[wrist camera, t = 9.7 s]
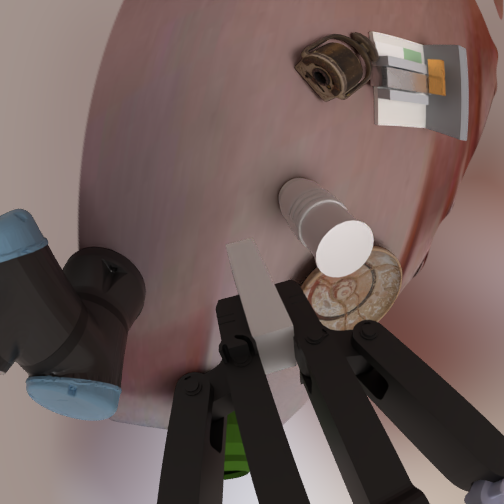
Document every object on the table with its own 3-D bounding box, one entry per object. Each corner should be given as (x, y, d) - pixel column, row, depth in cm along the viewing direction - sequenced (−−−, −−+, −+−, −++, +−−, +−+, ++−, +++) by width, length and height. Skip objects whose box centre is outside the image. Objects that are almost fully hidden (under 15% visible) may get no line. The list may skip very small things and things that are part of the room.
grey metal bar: (370, 85, 30) (397, 87, 25) (368, 48, 27) (394, 45, 22) (419, 92, 31) (446, 97, 26) (417, 59, 28) (444, 60, 23)
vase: (165, 398, 61) (170, 483, 41) (168, 355, 52) (172, 466, 32) (237, 400, 67) (254, 479, 47) (257, 360, 58) (284, 459, 38)
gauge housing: (374, 124, 35) (413, 135, 27) (368, 32, 27) (408, 24, 19) (429, 127, 36) (466, 140, 29) (426, 47, 28) (465, 48, 20)
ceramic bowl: (294, 343, 57) (301, 360, 53) (273, 259, 44) (281, 278, 40) (386, 305, 58) (397, 320, 54) (392, 218, 45) (408, 231, 41)
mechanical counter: (291, 25, 22) (322, 101, 25) (385, 18, 21) (413, 87, 24) (283, 45, 28) (307, 109, 32) (364, 35, 27) (387, 94, 31)
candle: (270, 181, 37) (310, 231, 25) (316, 169, 37) (374, 211, 25) (279, 223, 41) (317, 286, 28) (322, 211, 41) (373, 266, 29)
